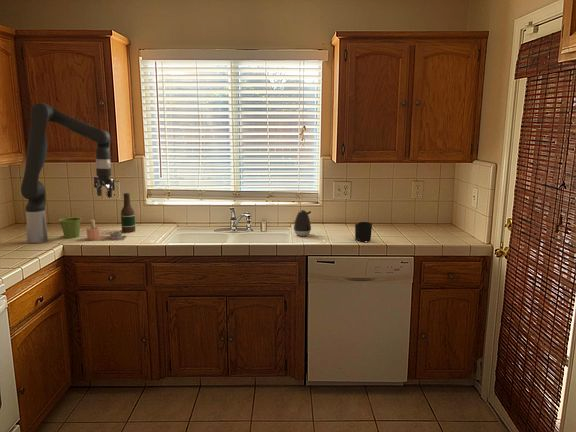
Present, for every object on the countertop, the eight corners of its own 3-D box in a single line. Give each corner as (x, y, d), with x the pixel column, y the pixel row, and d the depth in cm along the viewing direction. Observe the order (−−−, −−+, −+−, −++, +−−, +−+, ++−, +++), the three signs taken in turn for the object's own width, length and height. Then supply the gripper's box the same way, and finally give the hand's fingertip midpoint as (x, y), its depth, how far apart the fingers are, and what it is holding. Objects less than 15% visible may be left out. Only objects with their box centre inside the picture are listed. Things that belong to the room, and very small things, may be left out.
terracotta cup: (86, 240, 252) (85, 229, 251) (89, 237, 258) (88, 227, 257) (98, 239, 253) (97, 229, 252) (101, 237, 259) (100, 226, 258)
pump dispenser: (313, 236, 269) (314, 211, 266) (297, 237, 266) (297, 212, 263) (307, 232, 279) (308, 208, 276) (291, 233, 276) (291, 209, 273)
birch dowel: (91, 238, 254) (89, 220, 252) (92, 237, 256) (90, 219, 254) (95, 238, 254) (93, 220, 252) (96, 237, 257) (95, 219, 255)
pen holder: (352, 238, 265) (353, 221, 263) (368, 238, 266) (369, 221, 264) (356, 242, 256) (357, 225, 254) (373, 242, 257) (374, 225, 255)
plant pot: (83, 235, 267) (81, 216, 265) (83, 239, 257) (82, 220, 255) (60, 237, 262) (58, 217, 260) (60, 241, 252) (58, 221, 250)
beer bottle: (121, 234, 270) (118, 194, 265) (123, 231, 277) (120, 192, 273) (134, 234, 271) (132, 194, 267) (136, 231, 279) (134, 192, 274)
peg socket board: (83, 243, 250) (82, 235, 249) (89, 238, 260) (88, 231, 260) (123, 242, 253) (123, 235, 252) (127, 237, 263) (127, 230, 263)
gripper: (89, 166, 251) (90, 196, 254) (106, 168, 244) (107, 198, 247) (100, 166, 257) (102, 194, 260) (117, 168, 250) (118, 197, 253)
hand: (104, 196), depth 253 cm, fingers open, 8 cm apart
